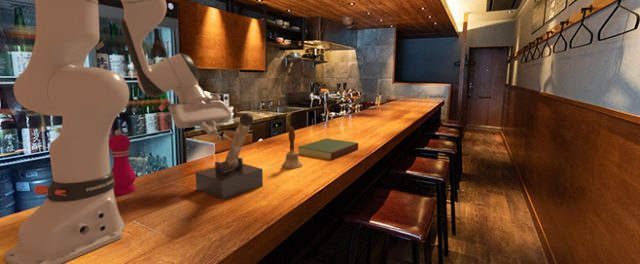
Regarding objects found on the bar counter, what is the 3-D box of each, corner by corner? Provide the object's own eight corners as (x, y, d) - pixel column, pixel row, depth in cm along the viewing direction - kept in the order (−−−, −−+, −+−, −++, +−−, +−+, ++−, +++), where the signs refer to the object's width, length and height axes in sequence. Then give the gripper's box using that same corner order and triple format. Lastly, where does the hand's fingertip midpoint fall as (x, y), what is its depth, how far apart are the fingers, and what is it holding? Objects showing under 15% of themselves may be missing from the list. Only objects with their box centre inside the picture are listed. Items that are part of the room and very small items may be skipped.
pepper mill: (125, 196, 105) (118, 132, 102) (105, 194, 107) (98, 131, 103) (142, 188, 112) (136, 128, 108) (123, 186, 114) (116, 127, 110)
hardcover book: (331, 161, 149) (332, 152, 148) (297, 154, 159) (297, 146, 158) (358, 149, 169) (359, 142, 168) (326, 145, 179) (327, 138, 179)
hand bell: (305, 167, 137) (304, 128, 134) (285, 169, 134) (284, 129, 131) (298, 162, 144) (298, 124, 142) (279, 164, 141) (278, 126, 139)
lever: (216, 166, 111) (236, 111, 101) (231, 162, 116) (252, 109, 105) (223, 174, 109) (244, 119, 99) (238, 170, 114) (260, 117, 103)
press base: (196, 189, 111) (194, 161, 109) (236, 177, 124) (235, 152, 122) (222, 199, 103) (221, 169, 101) (262, 186, 115) (262, 158, 113)
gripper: (169, 97, 109) (187, 131, 105) (223, 94, 125) (241, 123, 121) (163, 110, 113) (180, 143, 108) (216, 106, 128) (233, 134, 124)
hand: (213, 133), depth 115 cm, fingers closed
